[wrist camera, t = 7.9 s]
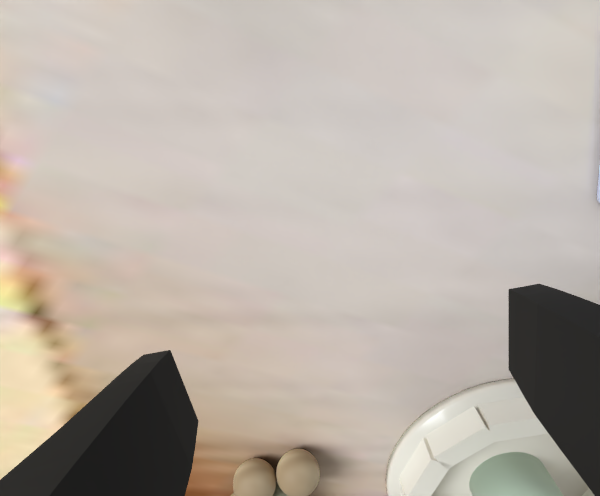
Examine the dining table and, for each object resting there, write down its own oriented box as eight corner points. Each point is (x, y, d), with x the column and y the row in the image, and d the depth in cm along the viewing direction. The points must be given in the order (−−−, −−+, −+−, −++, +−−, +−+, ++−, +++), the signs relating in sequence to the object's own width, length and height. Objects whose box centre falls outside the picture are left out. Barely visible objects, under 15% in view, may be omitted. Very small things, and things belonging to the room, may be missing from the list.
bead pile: (314, 435, 23) (316, 474, 21) (328, 494, 25) (332, 535, 22) (210, 452, 23) (201, 492, 21) (232, 509, 25) (226, 550, 23)
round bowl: (637, 357, 21) (670, 384, 19) (611, 528, 26) (635, 562, 24) (371, 401, 22) (379, 431, 20) (398, 558, 27) (406, 593, 25)
